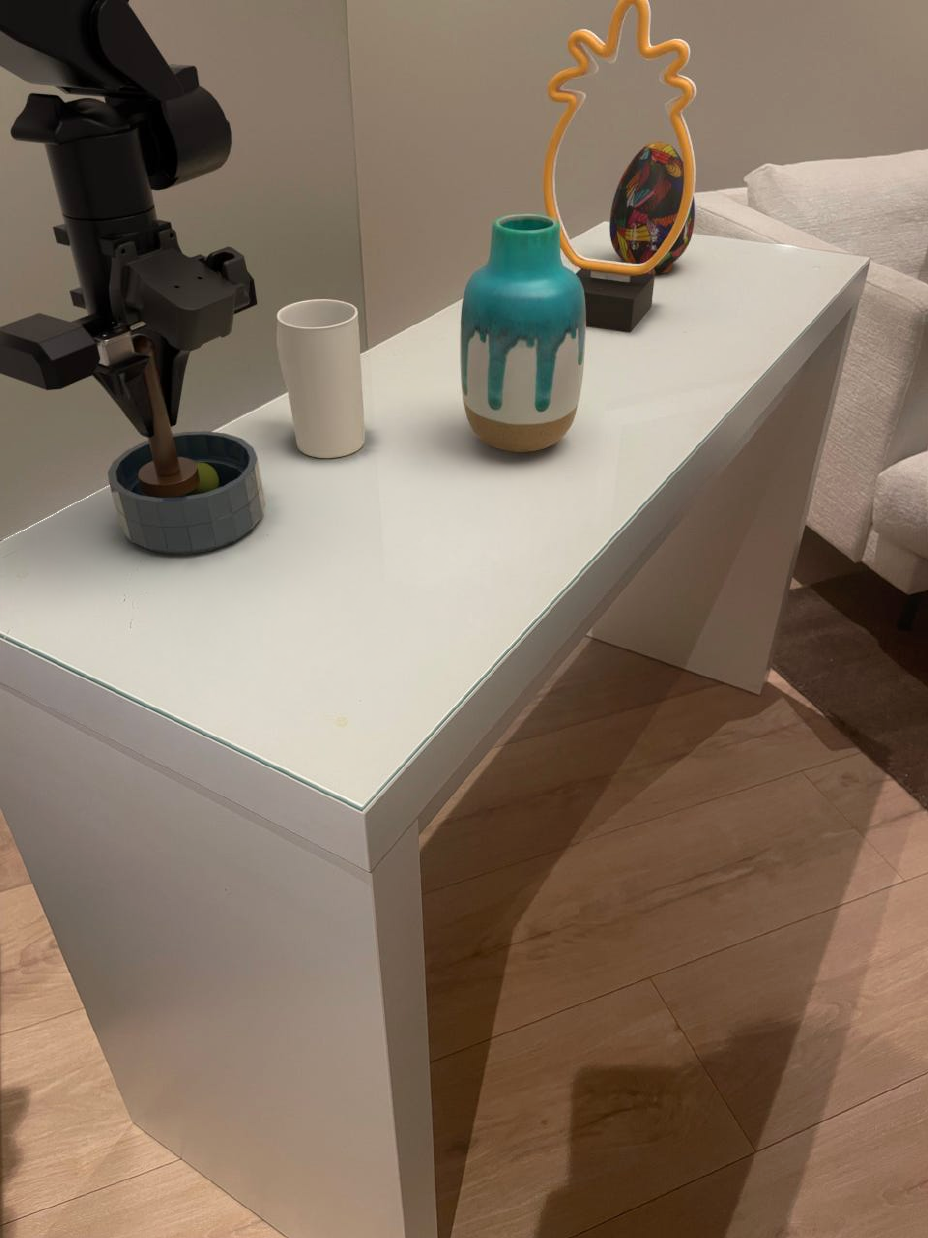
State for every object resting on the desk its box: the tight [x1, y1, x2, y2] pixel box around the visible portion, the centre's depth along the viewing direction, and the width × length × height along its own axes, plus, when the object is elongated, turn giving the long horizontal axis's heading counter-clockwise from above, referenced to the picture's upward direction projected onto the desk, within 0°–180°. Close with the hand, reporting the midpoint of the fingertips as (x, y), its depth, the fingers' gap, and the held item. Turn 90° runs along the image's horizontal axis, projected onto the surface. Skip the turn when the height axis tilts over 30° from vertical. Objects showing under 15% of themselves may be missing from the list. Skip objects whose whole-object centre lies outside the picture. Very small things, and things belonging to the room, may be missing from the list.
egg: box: [608, 141, 696, 276], centre depth 120 cm, size 11×11×15 cm
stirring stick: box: [131, 334, 200, 498], centre depth 69 cm, size 4×4×12 cm
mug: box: [276, 298, 366, 459], centre depth 84 cm, size 10×7×12 cm, turn 43°
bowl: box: [107, 430, 266, 556], centre depth 75 cm, size 11×11×5 cm
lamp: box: [542, 0, 697, 333], centre depth 102 cm, size 17×9×32 cm, turn 66°
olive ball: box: [187, 462, 219, 496], centre depth 77 cm, size 3×3×3 cm
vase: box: [459, 213, 587, 453], centre depth 81 cm, size 11×11×19 cm
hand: (158, 430), depth 70 cm, fingers closed on stirring stick, 2 cm apart
